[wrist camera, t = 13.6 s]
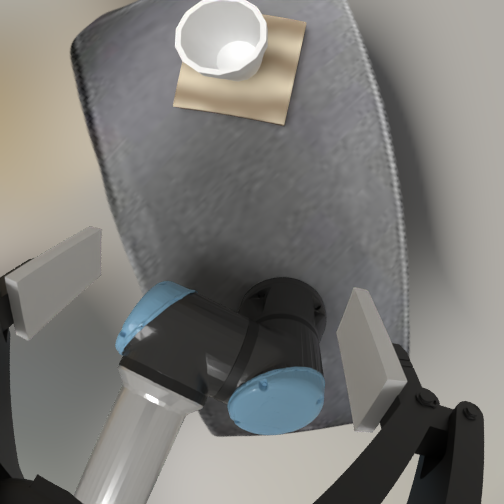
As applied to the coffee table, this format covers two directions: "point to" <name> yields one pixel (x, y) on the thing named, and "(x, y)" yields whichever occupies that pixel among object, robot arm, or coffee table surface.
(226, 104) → the wooden base
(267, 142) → the coffee table surface
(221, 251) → the coffee table surface
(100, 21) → the coffee table surface
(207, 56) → the foam cup
